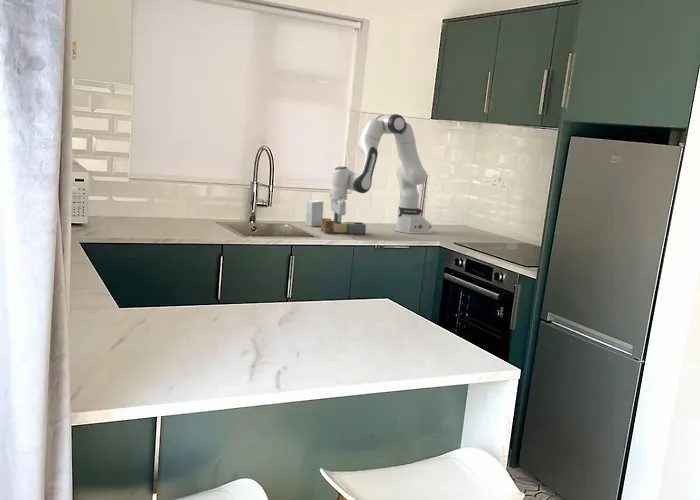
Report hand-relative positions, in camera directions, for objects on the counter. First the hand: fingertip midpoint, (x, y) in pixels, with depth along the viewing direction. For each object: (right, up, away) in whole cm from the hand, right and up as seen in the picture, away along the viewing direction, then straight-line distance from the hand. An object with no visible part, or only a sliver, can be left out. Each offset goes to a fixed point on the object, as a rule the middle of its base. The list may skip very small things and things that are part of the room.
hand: (337, 220), depth 395 cm
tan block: (+2, -7, +2) cm, 7 cm away
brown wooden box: (-6, -7, 0) cm, 9 cm away
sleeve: (+10, -7, +4) cm, 12 cm away
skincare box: (-14, -2, +20) cm, 25 cm away
